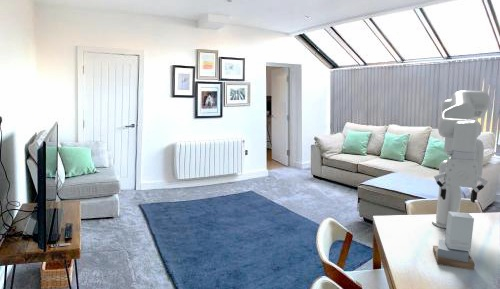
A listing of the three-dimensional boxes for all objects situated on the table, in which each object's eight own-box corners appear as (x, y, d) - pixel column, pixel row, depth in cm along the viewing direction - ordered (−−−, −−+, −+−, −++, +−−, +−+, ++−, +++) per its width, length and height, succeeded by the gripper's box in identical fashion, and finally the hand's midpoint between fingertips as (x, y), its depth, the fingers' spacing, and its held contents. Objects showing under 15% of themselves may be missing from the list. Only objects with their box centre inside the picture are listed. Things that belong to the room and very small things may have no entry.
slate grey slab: (438, 246, 146) (439, 239, 146) (467, 252, 142) (468, 244, 141) (437, 256, 138) (438, 248, 137) (467, 262, 133) (468, 254, 132)
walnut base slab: (432, 252, 147) (433, 245, 147) (466, 257, 144) (467, 250, 143) (437, 266, 136) (437, 258, 136) (473, 271, 132) (474, 264, 132)
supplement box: (471, 252, 134) (474, 218, 133) (448, 248, 136) (451, 216, 135) (465, 244, 141) (469, 213, 140) (444, 241, 143) (447, 210, 142)
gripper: (438, 155, 133) (433, 200, 136) (493, 159, 127) (487, 206, 130) (435, 151, 140) (430, 194, 143) (487, 155, 134) (481, 199, 137)
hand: (457, 200), depth 136 cm, fingers open, 9 cm apart
